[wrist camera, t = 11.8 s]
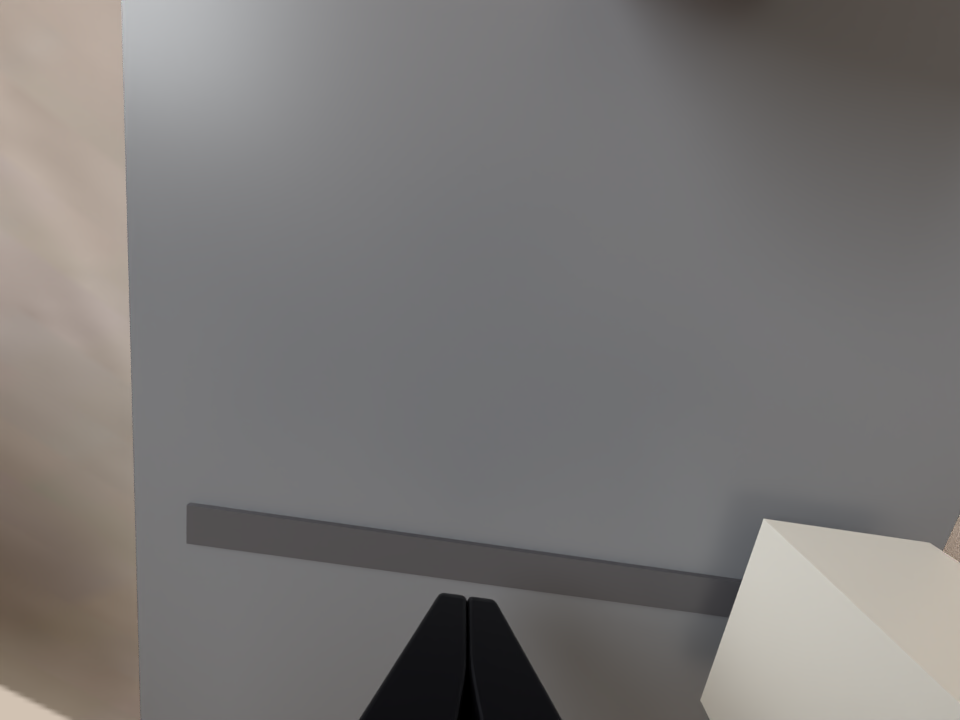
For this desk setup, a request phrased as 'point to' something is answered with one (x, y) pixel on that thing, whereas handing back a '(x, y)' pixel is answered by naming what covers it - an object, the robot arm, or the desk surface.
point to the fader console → (523, 327)
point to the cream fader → (840, 630)
